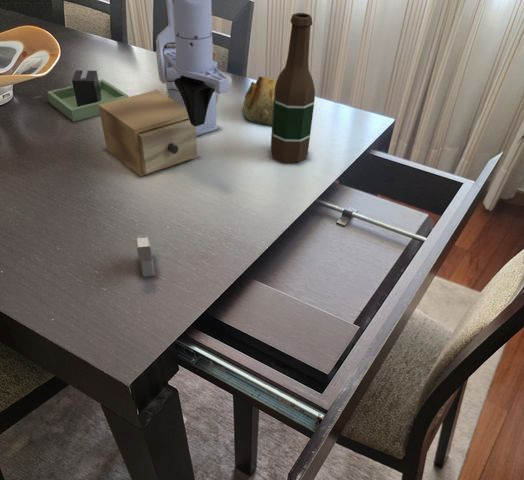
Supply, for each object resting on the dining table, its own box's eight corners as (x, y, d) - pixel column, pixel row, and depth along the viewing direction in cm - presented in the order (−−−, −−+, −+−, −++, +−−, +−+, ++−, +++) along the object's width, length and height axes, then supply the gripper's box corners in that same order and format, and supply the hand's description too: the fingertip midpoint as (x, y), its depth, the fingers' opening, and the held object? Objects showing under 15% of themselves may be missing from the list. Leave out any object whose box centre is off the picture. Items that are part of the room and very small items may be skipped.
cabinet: (196, 157, 95) (194, 112, 89) (140, 176, 90) (133, 129, 83) (161, 133, 101) (156, 89, 95) (106, 149, 96) (97, 104, 89)
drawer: (201, 158, 93) (199, 123, 88) (149, 176, 88) (145, 139, 83) (164, 134, 99) (161, 99, 94) (114, 149, 94) (108, 113, 89)
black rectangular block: (81, 96, 110) (75, 68, 106) (101, 96, 111) (96, 68, 106) (77, 107, 106) (71, 79, 102) (99, 107, 107) (93, 79, 102)
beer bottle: (312, 150, 100) (330, 12, 82) (301, 167, 95) (318, 24, 77) (276, 143, 101) (286, 5, 83) (264, 159, 96) (272, 17, 78)
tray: (105, 90, 115) (103, 79, 113) (130, 107, 109) (128, 95, 107) (49, 103, 109) (46, 91, 107) (73, 121, 103) (71, 110, 101)
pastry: (230, 109, 111) (230, 70, 105) (276, 100, 116) (279, 63, 110) (262, 134, 104) (264, 94, 98) (310, 123, 108) (314, 85, 102)
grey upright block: (140, 259, 73) (133, 213, 67) (152, 258, 74) (145, 212, 68) (144, 290, 69) (136, 243, 63) (156, 289, 69) (149, 242, 63)
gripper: (244, 42, 73) (242, 132, 83) (185, 17, 79) (190, 104, 89) (207, 50, 69) (210, 144, 79) (149, 24, 76) (158, 113, 86)
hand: (197, 123), depth 84 cm, fingers closed
